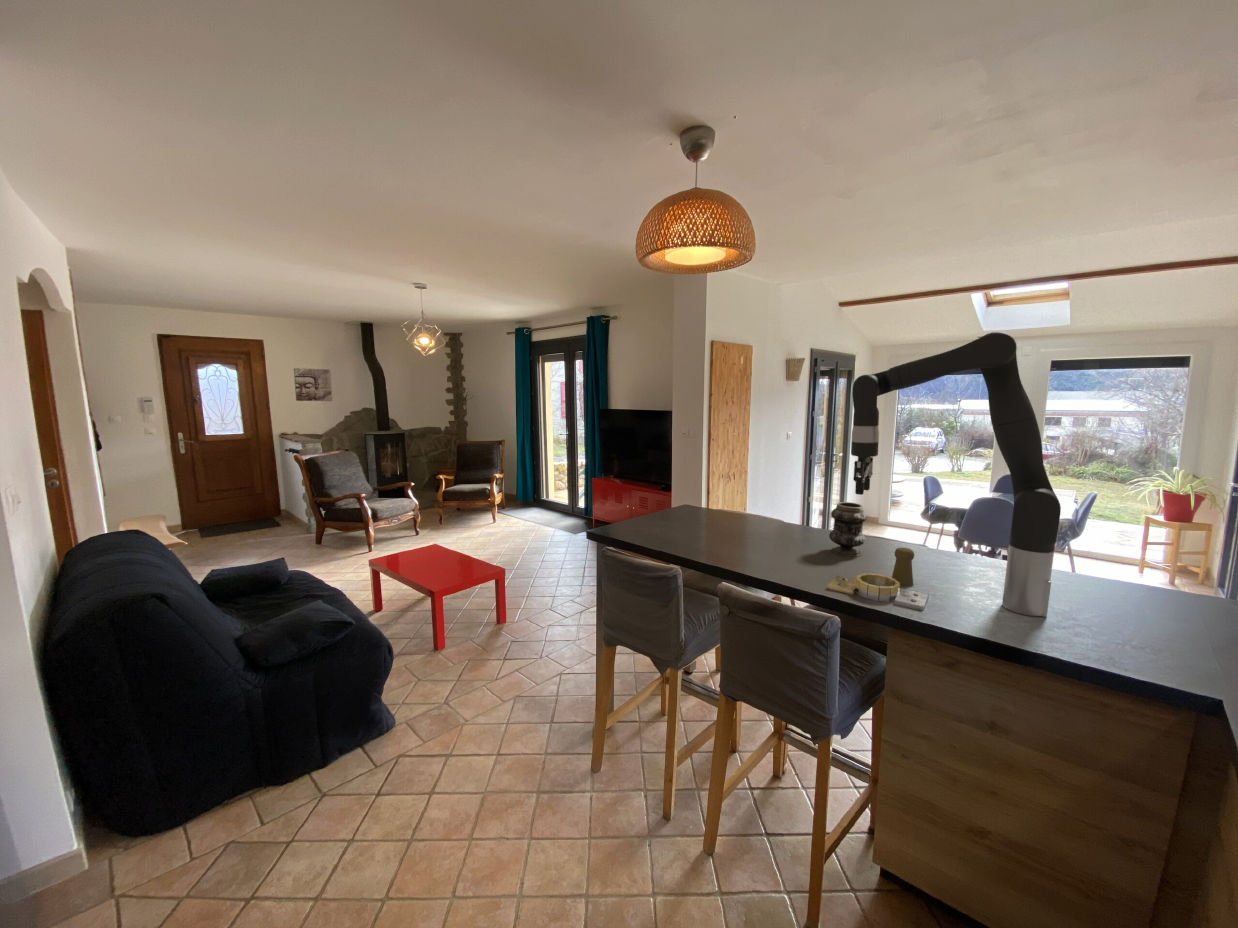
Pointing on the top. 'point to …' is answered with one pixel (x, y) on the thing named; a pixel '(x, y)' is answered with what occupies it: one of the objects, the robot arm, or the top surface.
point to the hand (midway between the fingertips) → (862, 492)
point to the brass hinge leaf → (865, 584)
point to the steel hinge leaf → (897, 597)
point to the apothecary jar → (848, 528)
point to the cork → (903, 567)
